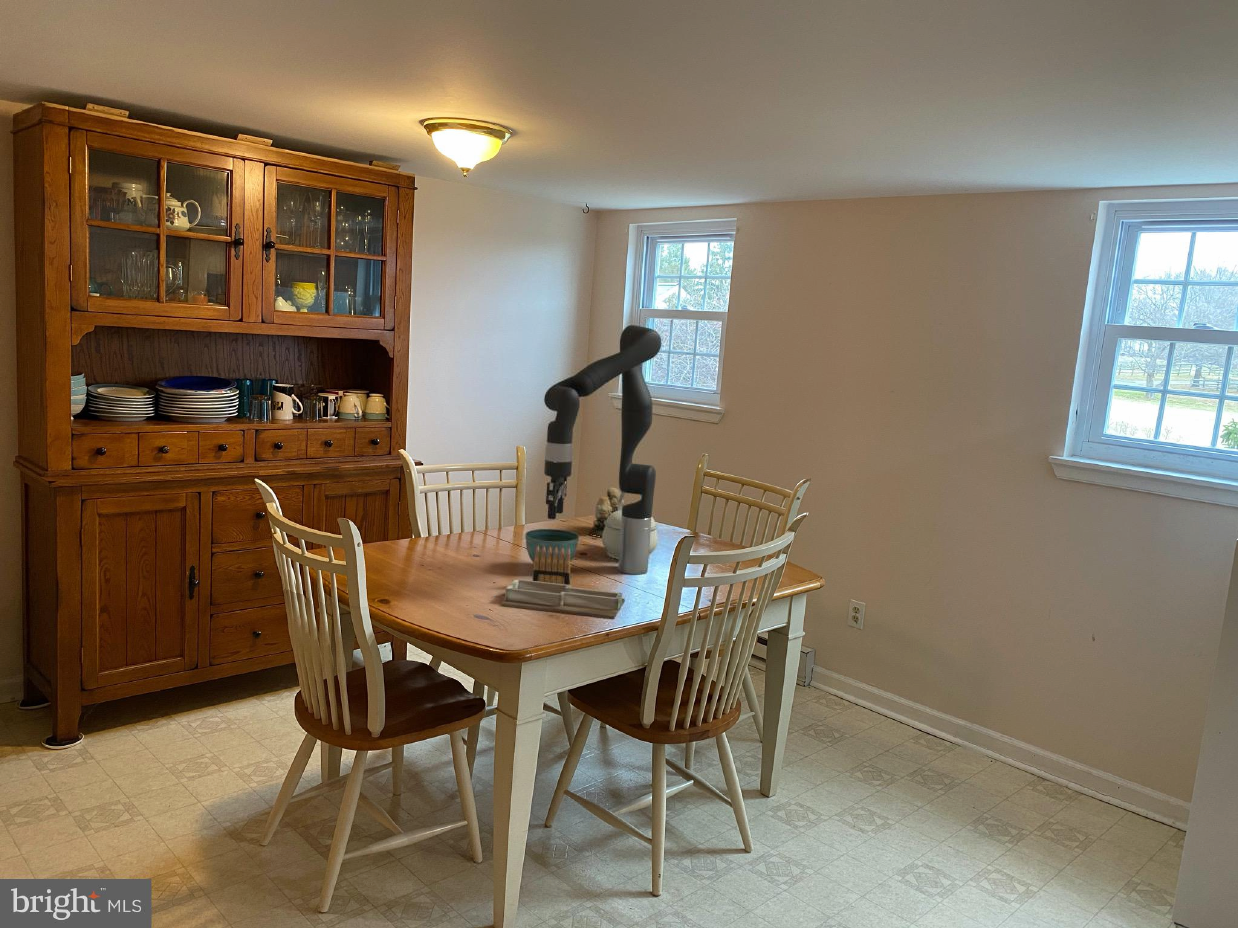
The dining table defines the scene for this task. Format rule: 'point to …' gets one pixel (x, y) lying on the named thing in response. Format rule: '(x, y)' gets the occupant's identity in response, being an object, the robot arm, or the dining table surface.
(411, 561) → the dining table surface
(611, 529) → the kettle
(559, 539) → the flower pot
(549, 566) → the ammunition clip
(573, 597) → the shallow open tray
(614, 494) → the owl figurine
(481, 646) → the dining table surface
